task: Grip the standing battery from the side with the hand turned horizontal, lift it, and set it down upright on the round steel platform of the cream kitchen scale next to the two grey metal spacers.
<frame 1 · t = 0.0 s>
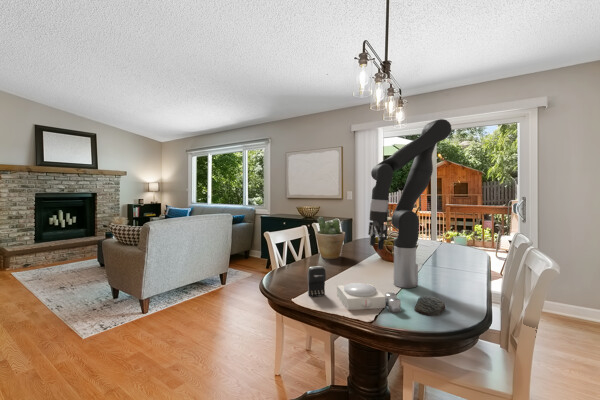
hand: (376, 247, 123), 17 cm above the table, tool pointing down, fingers open, 8 cm apart
battery: (316, 296, 113), on the table
spacer b: (390, 305, 104), on the table
spacer a: (394, 311, 98), on the table
potted plant: (330, 257, 178), on the table
fossil: (427, 309, 101), on the table
scale: (359, 301, 107), on the table
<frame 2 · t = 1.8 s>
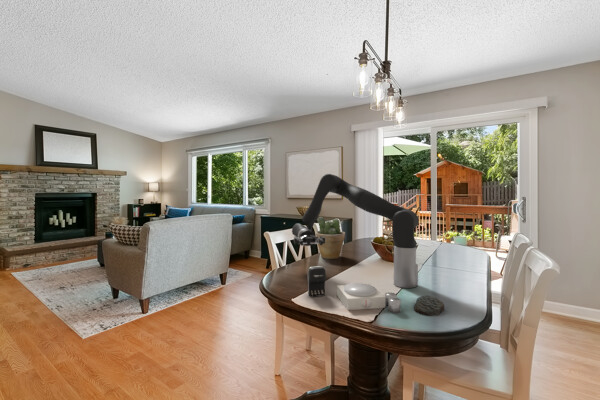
hand: (311, 243, 123), 19 cm above the table, tool horizontal, fingers open, 8 cm apart
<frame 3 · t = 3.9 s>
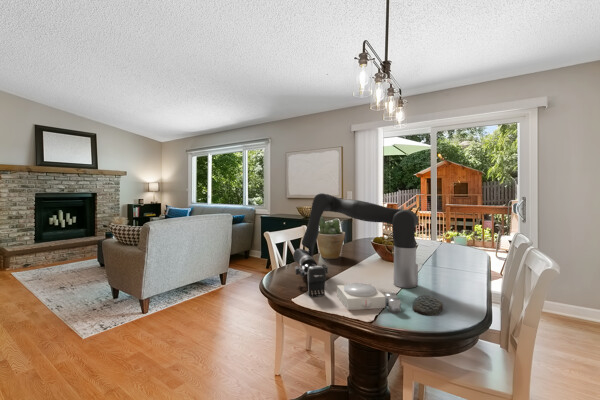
hand: (313, 274, 120), 6 cm above the table, tool horizontal, fingers open, 8 cm apart
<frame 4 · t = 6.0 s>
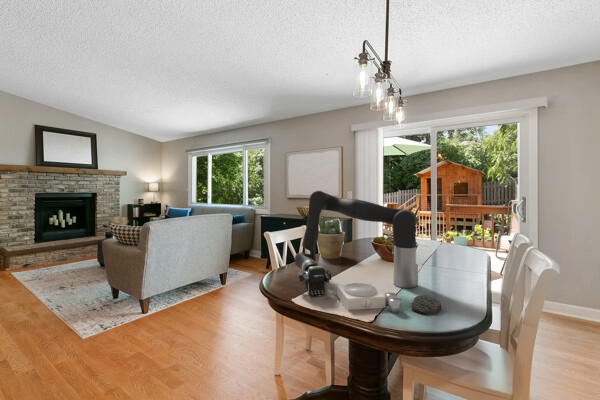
hand: (317, 281, 111), 7 cm above the table, tool horizontal, fingers closed on battery, 7 cm apart
battery: (316, 295, 113), on the table, touching gripper
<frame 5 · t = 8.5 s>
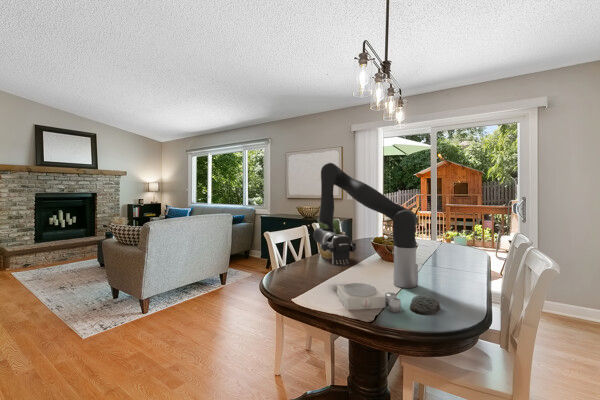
hand: (343, 249, 107), 20 cm above the table, tool horizontal, fingers closed on battery, 7 cm apart
battery: (341, 265, 109), point 13 cm above the table, touching gripper
when the fingers open (12 cm above the table, at t = 11.0 s): battery stays where it is, resting on scale.
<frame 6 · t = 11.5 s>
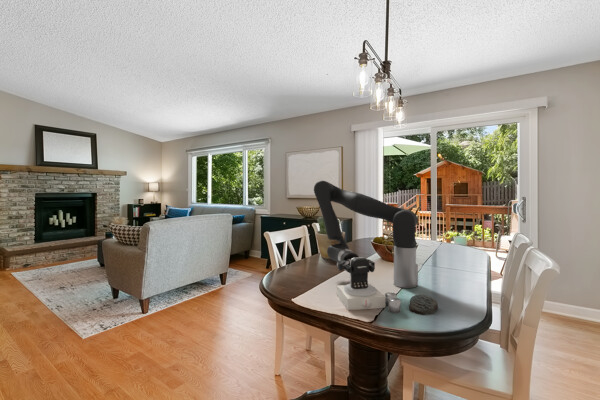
hand: (361, 270, 105), 13 cm above the table, tool horizontal, fingers open, 8 cm apart
battery: (359, 288, 107), point 5 cm above the table, touching scale
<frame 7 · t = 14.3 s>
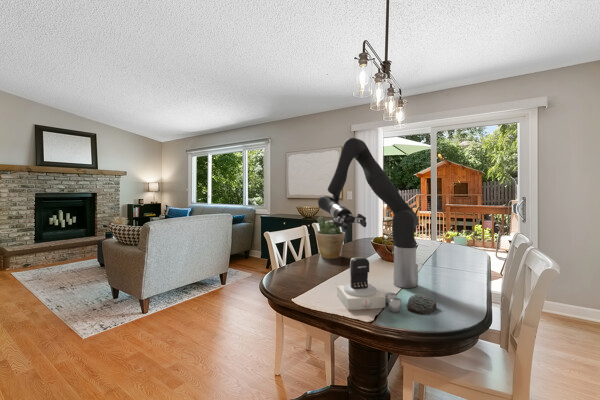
hand: (356, 226, 118), 27 cm above the table, tool horizontal, fingers open, 8 cm apart
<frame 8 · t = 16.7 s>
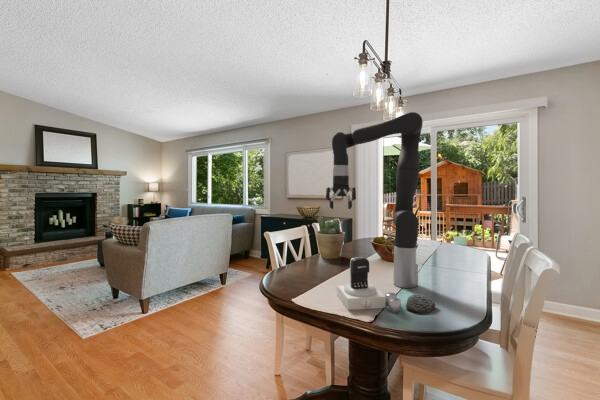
hand: (340, 208, 136), 33 cm above the table, tool pointing down, fingers open, 8 cm apart
at the end: battery inside the target area on the scale (0.2 cm from its centre), point 4.8 cm above the scale's base; battery tilted 0°; the gripper is holding nothing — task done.
